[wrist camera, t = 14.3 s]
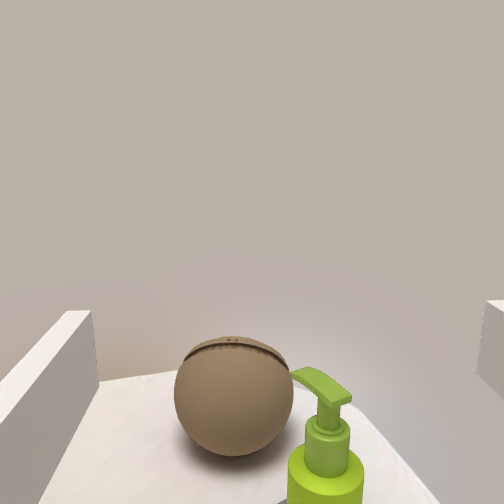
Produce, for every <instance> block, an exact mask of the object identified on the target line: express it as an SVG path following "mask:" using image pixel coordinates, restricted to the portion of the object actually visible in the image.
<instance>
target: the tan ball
mask: <svg viewBox="0 0 504 504" xmlns="http://www.w3.org/2000/svg"><path fill="white" fill-rule="evenodd" d="M174 402H175V408H176V412H177V415H178V418H179V420H180V422H181V424H182V426H183V428H184V430H185V431H186V432H187V434H188V435H189V436H190V437H191V438H192V439H193V440H194V441H195V442H196V443H197V444H198V445H200V446H201V447H203V448H205V449H206V450H208V451H211V452H213V453H216V454H220V455H225V456H241V455H246V454H250V453H253V452H255V451H258V450H260V449H261V448H263V447H265V446H266V445H268V444H269V443H270V442H271V441H272V440H274V439H275V438H276V437H277V435H278V434H279V433H280V432H281V430H282V429H283V427H284V426H285V424H286V422H287V420H288V418H289V415H290V412H291V408H292V404H293V382H292V377H291V375H290V373H289V368H288V366H287V364H286V362H285V360H284V358H283V357H282V356H281V355H280V354H279V353H278V352H277V351H276V350H275V349H273V348H272V347H270V346H268V345H266V344H263V343H261V342H259V341H256V340H253V339H250V338H245V337H238V336H229V337H221V338H217V339H212V340H209V341H205V342H203V343H201V344H199V345H197V346H196V347H194V348H193V349H192V350H191V351H190V352H189V354H188V355H187V356H186V357H185V359H184V361H183V364H182V365H181V366H180V368H179V370H178V373H177V376H176V380H175V386H174Z"/></svg>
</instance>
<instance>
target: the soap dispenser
mask: <svg viewBox="0 0 504 504" xmlns="http://www.w3.org/2000/svg"><path fill="white" fill-rule="evenodd" d="M290 375H291V377H292V379H294V380H296V381H298V382H300V383H301V384H303V385H304V386H306V387H307V388H308V389H309V390H310V391H312V392H313V393H314V394H315V395H316V396H317V397H318V407H317V415H314V416H312V417H311V418H309V419H308V421H307V422H306V427H305V444H302V445H300V446H299V447H297V448H296V449H295V450H294V451H293V452H292V453H291V455H290V457H289V460H288V485H287V504H362V495H363V483H364V468H363V465H362V463H361V461H360V459H359V458H358V457H357V456H356V455H355V454H354V453H353V452H352V451H350V450H349V443H350V427H349V425H348V424H347V423H346V421H344V420H343V419H342V418H340V406H341V405H344V404H347V403H349V402H351V399H352V395H351V394H350V393H349V392H348V391H347V390H345V389H344V388H343V387H342V386H341V385H340V384H338V383H337V382H336V381H335V380H333V379H332V378H330V377H329V376H328V375H326V374H325V373H323V372H321V371H319V370H317V369H314V368H312V367H305V368H302V369H299V370H295V371H292V372H290Z"/></svg>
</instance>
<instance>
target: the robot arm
mask: <svg viewBox="0 0 504 504" xmlns="http://www.w3.org/2000/svg"><path fill="white" fill-rule="evenodd" d="M476 375H478V376H479V377H480V378H481V379H482V380H483V381H484V382H485V383H486V384H487V385H488V386H489V387H490V388H491V389H492V390H493V391H494V392H496V394H497V395H499V396H500V397H501V398H502V399H503V400H504V300H490V301H489V300H488V301H486V302H485V310H484V317H483V324H482V331H481V339H480V346H479V353H478V360H477V368H476ZM98 388H99V379H98V370H97V360H96V351H95V342H94V332H93V323H92V314H91V310H88V311H87V310H84V311H67V312H66V313H65V314H64V315H63V316H62V317H61V318H60V319H59V320H58V321H57V322H56V323H55V324H54V326H53V327H52V328H51V329H50V330H49V331H48V332H47V333H46V334H45V335H44V336H43V337H42V338H41V339H40V340H39V341H38V343H37V344H36V345H35V346H34V347H33V348H32V349H31V350H30V351H29V352H28V353H27V354H26V355H25V356H24V358H23V359H22V360H21V361H20V362H19V363H18V364H17V365H16V366H15V367H14V368H13V369H12V370H11V372H10V373H9V374H8V375H7V376H6V377H5V378H4V379H3V380H2V381H1V382H0V504H38V502H39V501H40V499H41V497H42V495H43V493H44V491H45V489H46V487H47V485H48V483H49V481H50V480H51V478H52V476H53V474H54V472H55V470H56V468H57V466H58V464H59V462H60V460H61V458H62V457H63V455H64V453H65V451H66V449H67V447H68V445H69V443H70V441H71V439H72V437H73V435H74V434H75V432H76V430H77V428H78V426H79V424H80V422H81V420H82V418H83V416H84V414H85V412H86V411H87V409H88V407H89V405H90V403H91V401H92V399H93V397H94V395H95V393H96V391H97V389H98Z"/></svg>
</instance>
